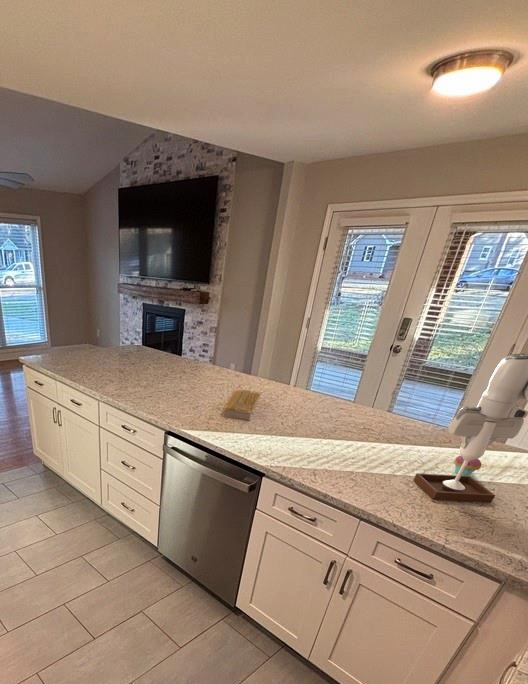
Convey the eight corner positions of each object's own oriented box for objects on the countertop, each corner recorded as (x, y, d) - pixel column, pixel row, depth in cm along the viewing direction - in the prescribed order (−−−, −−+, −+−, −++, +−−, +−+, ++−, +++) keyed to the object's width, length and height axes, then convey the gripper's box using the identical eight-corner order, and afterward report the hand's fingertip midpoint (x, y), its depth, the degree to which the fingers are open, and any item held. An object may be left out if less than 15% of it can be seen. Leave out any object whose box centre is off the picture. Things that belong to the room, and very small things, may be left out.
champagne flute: (466, 485, 145) (501, 420, 132) (463, 492, 141) (499, 425, 128) (445, 478, 149) (477, 414, 135) (441, 485, 144) (473, 419, 131)
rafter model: (233, 395, 228) (235, 384, 224) (259, 399, 224) (262, 388, 221) (221, 416, 200) (223, 403, 197) (251, 420, 196) (253, 408, 193)
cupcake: (453, 476, 156) (469, 447, 149) (445, 466, 163) (460, 438, 156) (479, 480, 154) (495, 450, 148) (470, 469, 161) (485, 441, 155)
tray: (466, 483, 152) (470, 476, 150) (491, 502, 140) (495, 495, 139) (413, 480, 152) (416, 473, 150) (433, 499, 141) (436, 492, 139)
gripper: (467, 409, 127) (447, 450, 134) (534, 413, 127) (510, 454, 134) (455, 402, 132) (436, 442, 140) (519, 406, 132) (497, 446, 139)
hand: (473, 448), depth 137 cm, fingers closed on champagne flute, 5 cm apart
